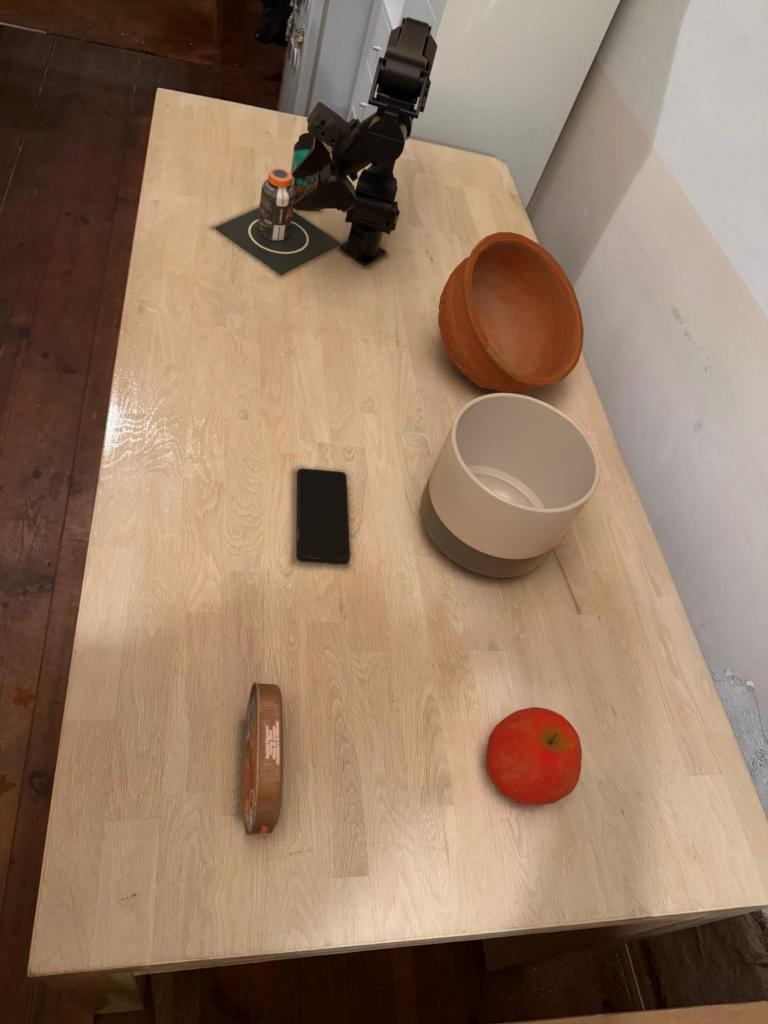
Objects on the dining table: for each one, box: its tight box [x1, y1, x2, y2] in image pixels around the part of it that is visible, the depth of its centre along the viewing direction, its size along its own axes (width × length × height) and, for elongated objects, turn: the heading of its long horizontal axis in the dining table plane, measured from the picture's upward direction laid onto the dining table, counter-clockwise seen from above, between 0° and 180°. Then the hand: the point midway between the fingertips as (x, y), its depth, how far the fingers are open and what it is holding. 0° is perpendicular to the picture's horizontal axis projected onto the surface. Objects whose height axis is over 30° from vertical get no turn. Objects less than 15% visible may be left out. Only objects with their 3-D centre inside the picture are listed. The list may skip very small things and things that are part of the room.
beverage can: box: [290, 132, 321, 211], centre depth 140 cm, size 7×7×12 cm
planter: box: [420, 392, 601, 578], centre depth 98 cm, size 19×19×18 cm
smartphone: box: [296, 468, 351, 564], centre depth 100 cm, size 7×1×15 cm
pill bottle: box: [258, 167, 296, 241], centre depth 131 cm, size 6×6×11 cm
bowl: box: [437, 231, 585, 393], centre depth 121 cm, size 25×25×15 cm
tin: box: [242, 682, 284, 836], centre depth 76 cm, size 15×3×8 cm, turn 5°
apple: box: [485, 706, 583, 806], centre depth 81 cm, size 10×10×10 cm
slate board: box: [214, 207, 341, 276], centre depth 135 cm, size 16×16×1 cm
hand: (293, 191), depth 121 cm, fingers open, 9 cm apart
